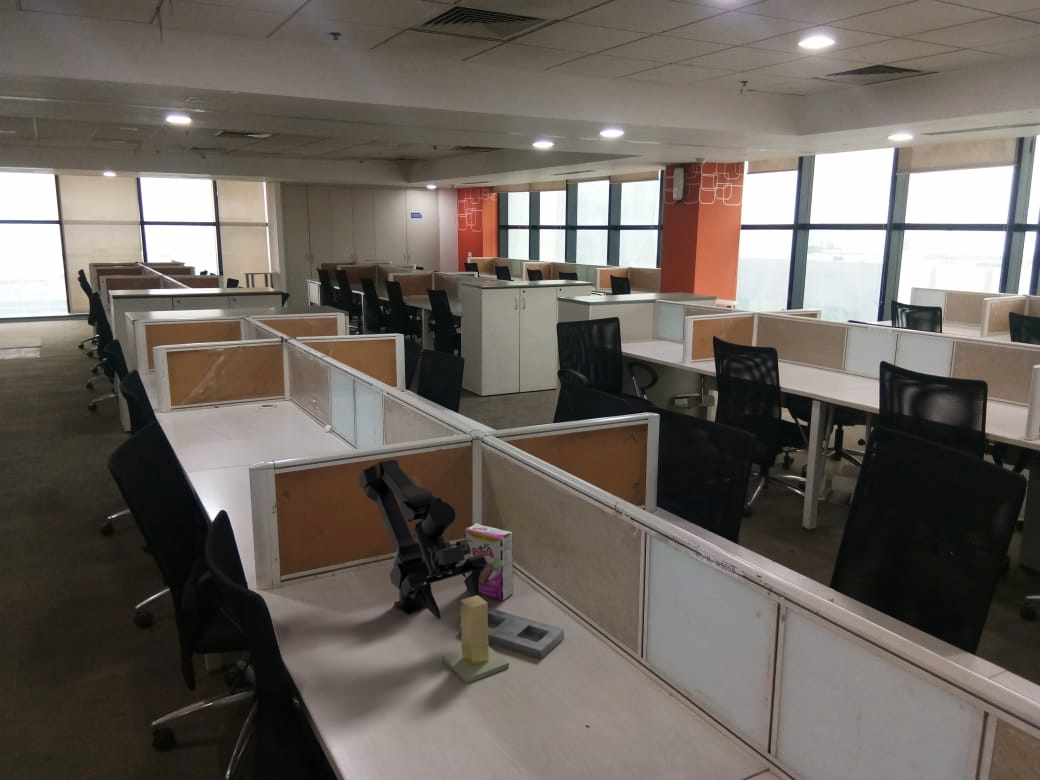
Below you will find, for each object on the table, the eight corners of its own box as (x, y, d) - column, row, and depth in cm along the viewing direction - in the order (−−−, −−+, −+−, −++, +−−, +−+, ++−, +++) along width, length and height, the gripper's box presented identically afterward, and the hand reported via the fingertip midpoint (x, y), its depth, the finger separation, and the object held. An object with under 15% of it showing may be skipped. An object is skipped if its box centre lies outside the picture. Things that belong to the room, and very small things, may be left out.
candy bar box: (465, 591, 191) (463, 528, 188) (477, 583, 195) (475, 522, 192) (503, 602, 185) (501, 538, 182) (514, 594, 190) (513, 531, 186)
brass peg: (462, 658, 160) (460, 600, 157) (478, 652, 162) (477, 594, 159) (471, 667, 156) (470, 608, 154) (488, 660, 159) (487, 602, 156)
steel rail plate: (459, 633, 171) (459, 625, 171) (484, 614, 180) (484, 606, 179) (541, 659, 161) (541, 650, 160) (564, 637, 169) (564, 629, 169)
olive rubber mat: (442, 660, 161) (442, 656, 160) (483, 646, 166) (483, 641, 166) (466, 683, 153) (466, 678, 152) (508, 667, 158) (508, 662, 158)
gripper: (404, 539, 158) (431, 611, 152) (483, 520, 168) (510, 586, 162) (390, 561, 166) (414, 630, 160) (465, 541, 177) (491, 605, 170)
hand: (459, 612), depth 163 cm, fingers open, 9 cm apart
